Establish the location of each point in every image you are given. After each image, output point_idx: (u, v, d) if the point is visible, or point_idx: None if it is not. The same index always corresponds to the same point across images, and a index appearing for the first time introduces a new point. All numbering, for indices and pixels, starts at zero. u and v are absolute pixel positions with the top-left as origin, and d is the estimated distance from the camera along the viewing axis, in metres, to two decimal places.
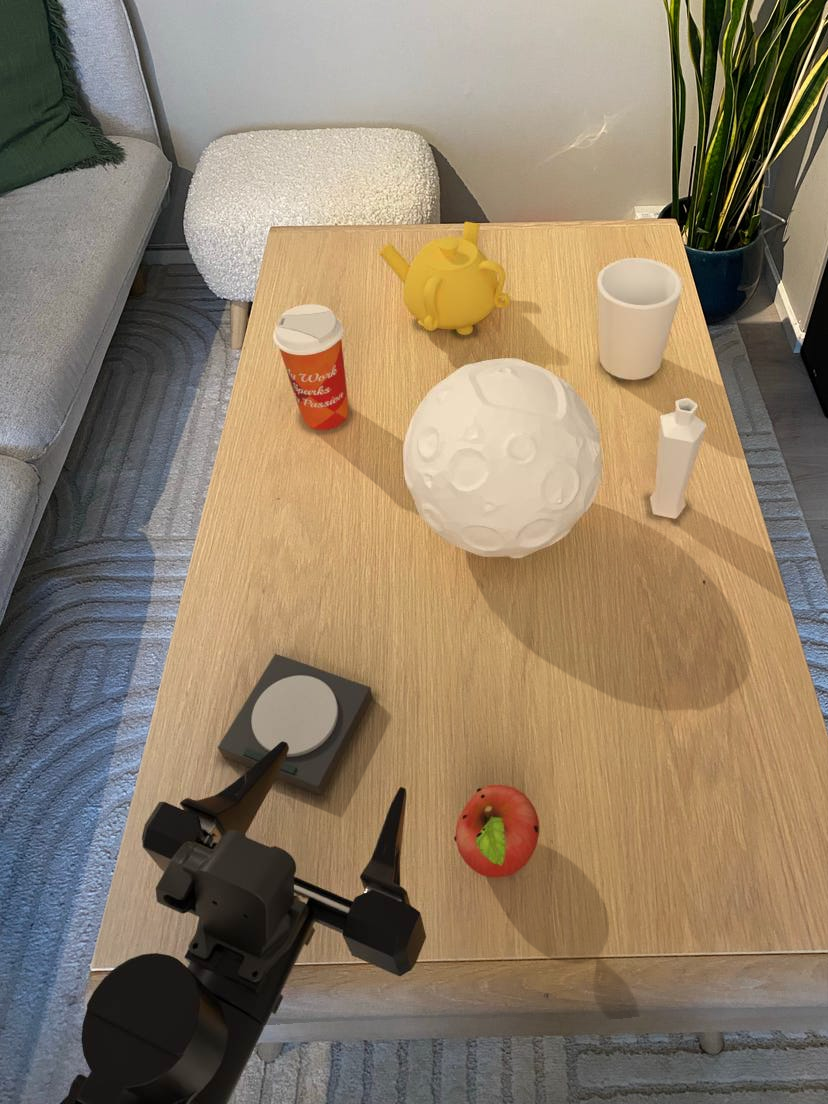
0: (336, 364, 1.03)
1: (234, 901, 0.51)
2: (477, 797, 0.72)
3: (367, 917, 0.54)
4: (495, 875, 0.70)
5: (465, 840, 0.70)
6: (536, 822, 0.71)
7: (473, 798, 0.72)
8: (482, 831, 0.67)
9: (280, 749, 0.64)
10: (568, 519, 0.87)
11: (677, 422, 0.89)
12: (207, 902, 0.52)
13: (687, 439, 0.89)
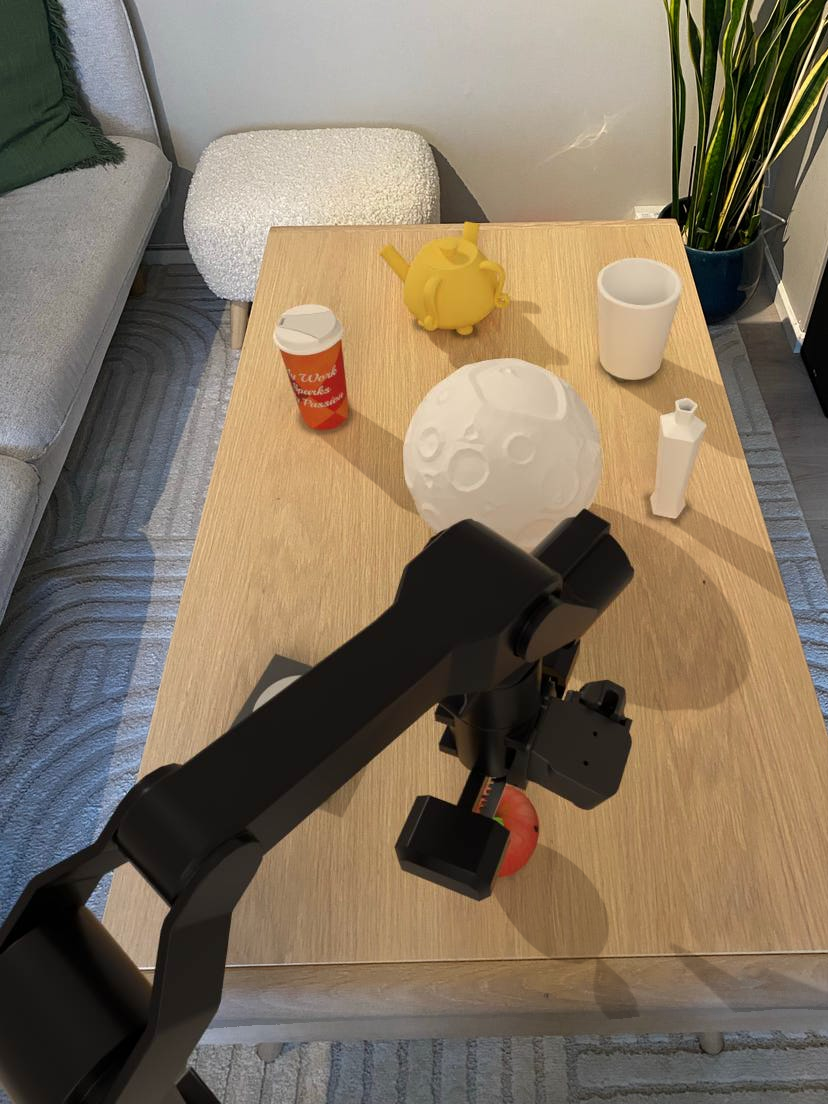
0: (336, 364, 1.03)
1: (602, 759, 0.55)
2: None
3: (503, 852, 0.55)
4: None
5: None
6: (536, 822, 0.71)
7: None
8: None
9: None
10: None
11: (677, 422, 0.89)
12: (594, 724, 0.56)
13: (687, 438, 0.89)
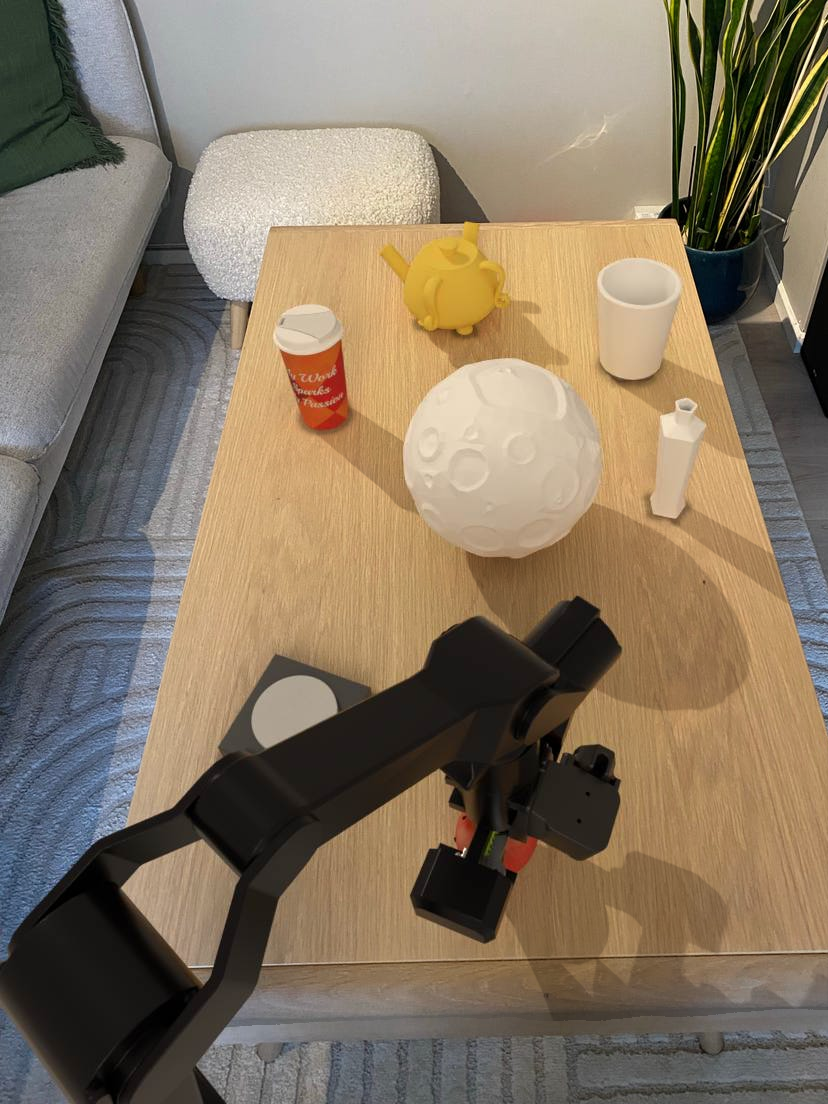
0: (336, 364, 1.03)
1: (594, 817, 0.62)
2: None
3: (506, 900, 0.62)
4: None
5: (465, 841, 0.70)
6: None
7: None
8: None
9: None
10: (569, 519, 0.87)
11: (677, 422, 0.89)
12: (586, 785, 0.63)
13: (687, 438, 0.89)
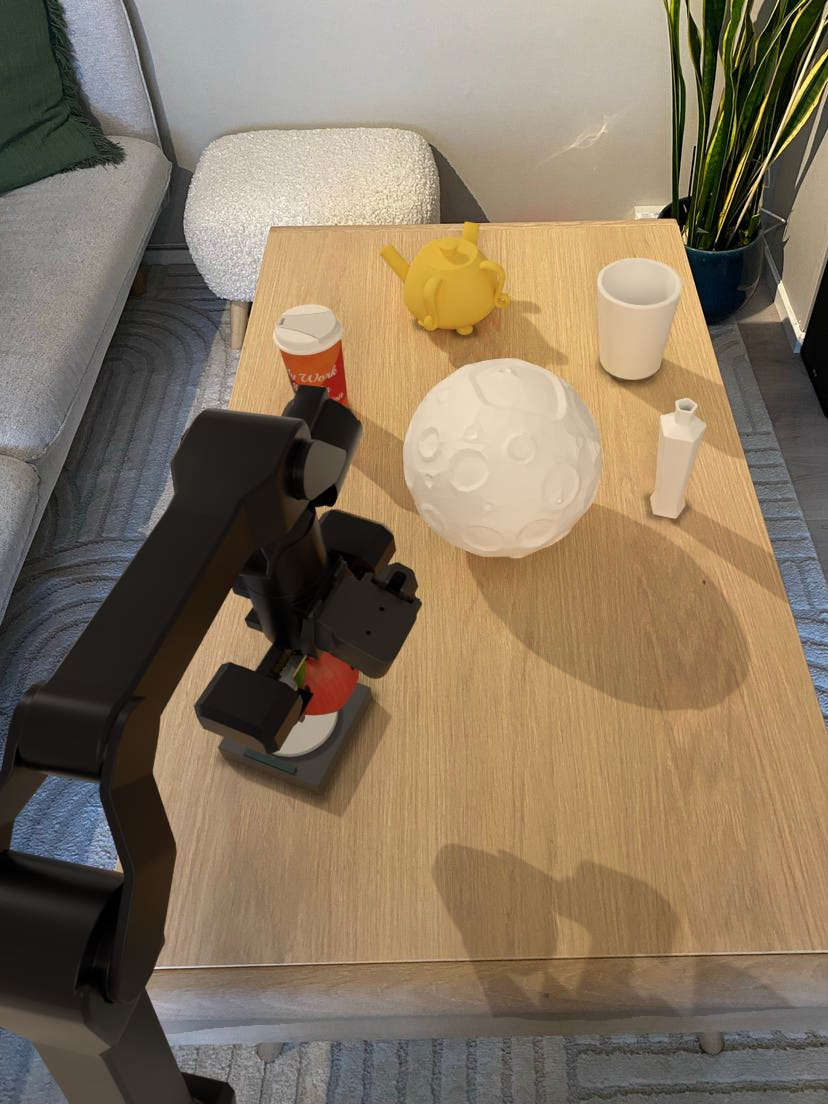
0: (336, 364, 1.03)
1: (385, 631, 0.61)
2: None
3: (291, 711, 0.60)
4: (308, 711, 0.69)
5: None
6: None
7: None
8: None
9: None
10: (569, 519, 0.87)
11: (677, 422, 0.89)
12: (382, 600, 0.62)
13: (687, 438, 0.89)
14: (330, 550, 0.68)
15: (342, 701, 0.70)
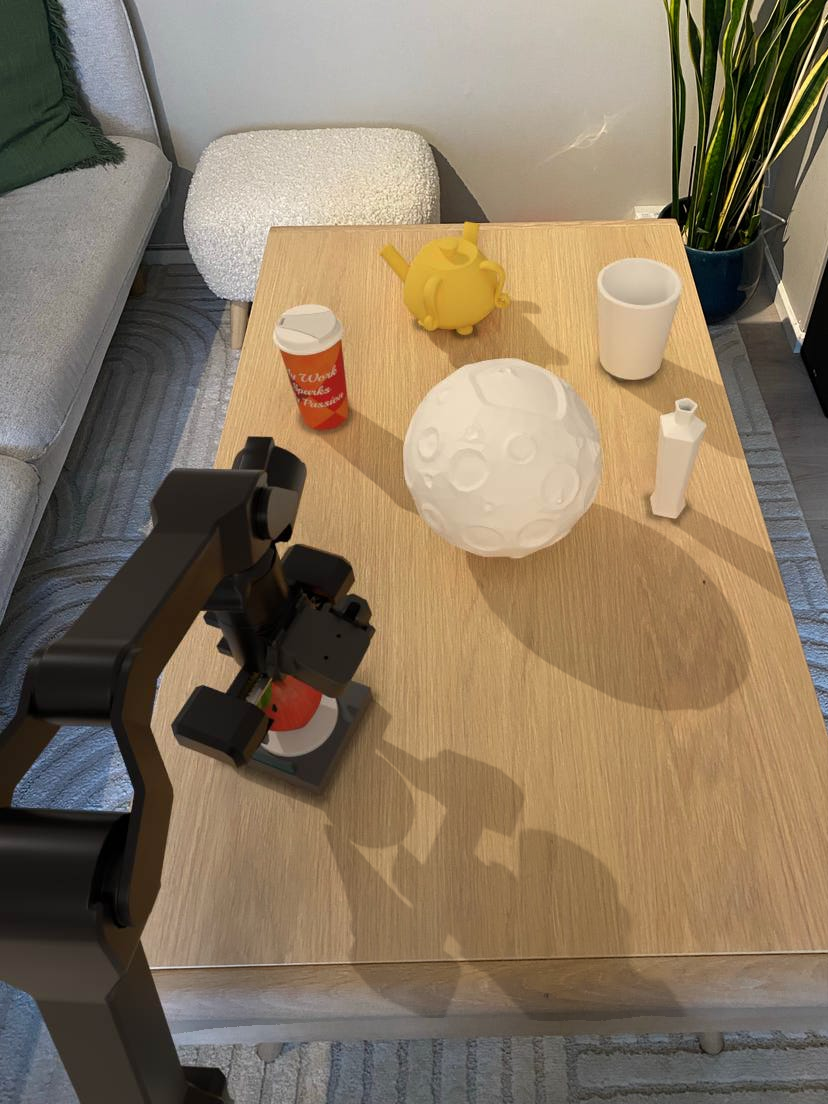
0: (336, 364, 1.03)
1: (341, 655, 0.68)
2: None
3: (258, 728, 0.68)
4: (275, 728, 0.76)
5: None
6: None
7: None
8: None
9: None
10: (569, 519, 0.87)
11: (677, 422, 0.89)
12: (339, 628, 0.70)
13: (687, 438, 0.89)
14: (294, 581, 0.76)
15: (307, 718, 0.77)
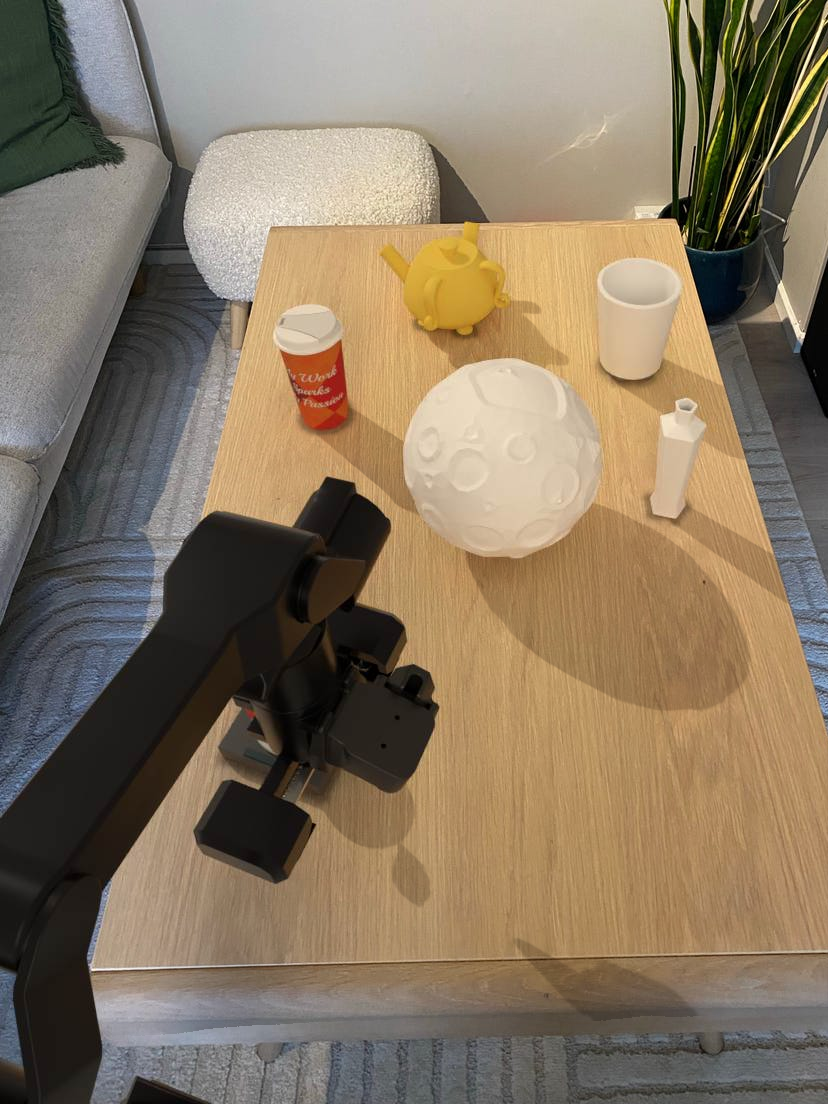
0: (336, 364, 1.03)
1: (401, 742, 0.56)
2: None
3: (300, 835, 0.55)
4: None
5: None
6: None
7: None
8: None
9: None
10: (569, 519, 0.87)
11: (677, 422, 0.89)
12: (397, 708, 0.57)
13: (687, 438, 0.89)
14: (337, 646, 0.63)
15: None
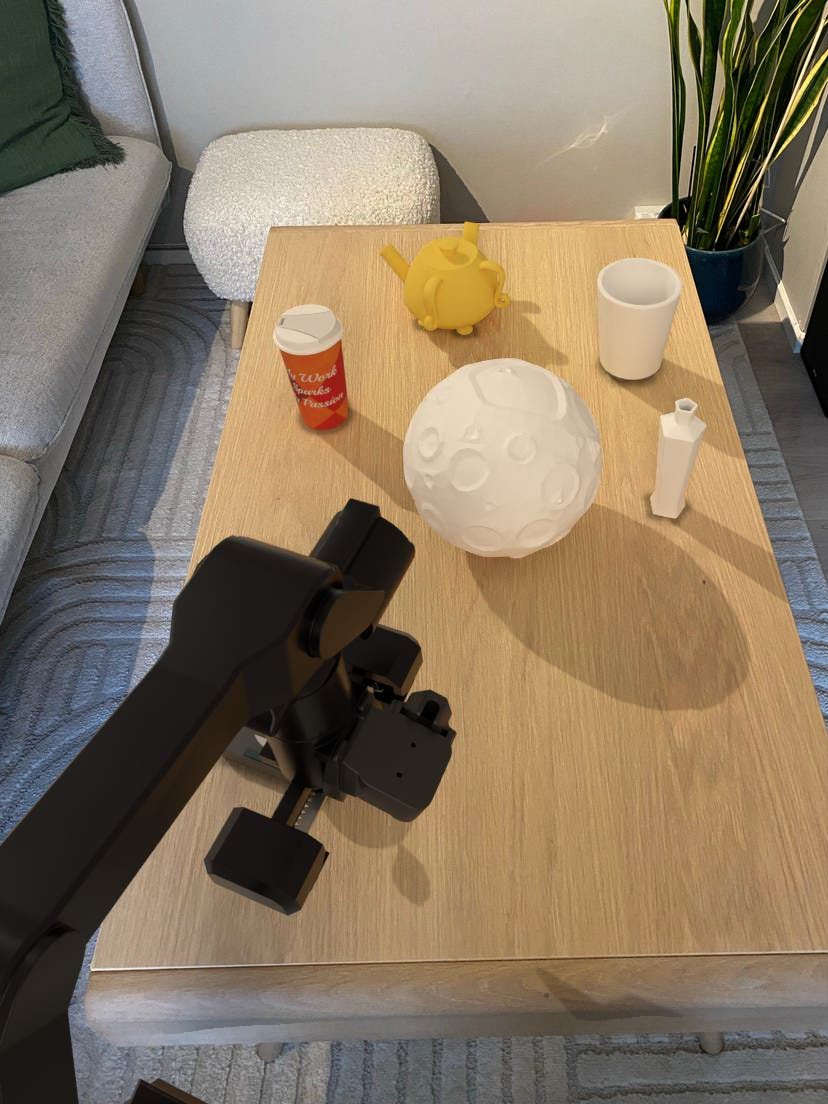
0: (336, 364, 1.03)
1: (417, 771, 0.54)
2: None
3: (313, 865, 0.54)
4: None
5: None
6: None
7: None
8: None
9: None
10: (569, 519, 0.87)
11: (677, 422, 0.89)
12: (413, 735, 0.56)
13: (687, 438, 0.89)
14: (351, 667, 0.61)
15: None
